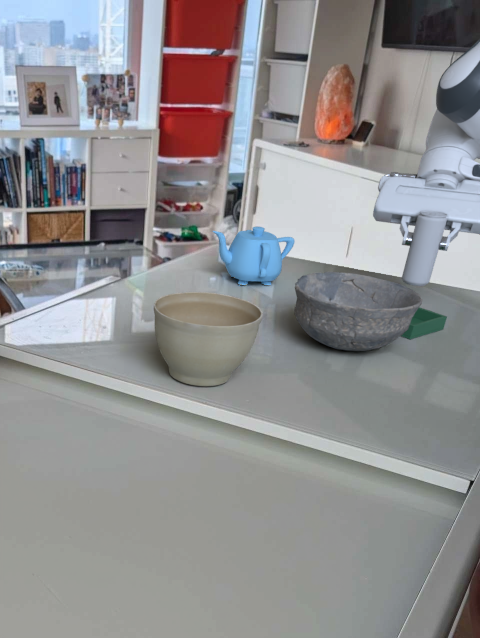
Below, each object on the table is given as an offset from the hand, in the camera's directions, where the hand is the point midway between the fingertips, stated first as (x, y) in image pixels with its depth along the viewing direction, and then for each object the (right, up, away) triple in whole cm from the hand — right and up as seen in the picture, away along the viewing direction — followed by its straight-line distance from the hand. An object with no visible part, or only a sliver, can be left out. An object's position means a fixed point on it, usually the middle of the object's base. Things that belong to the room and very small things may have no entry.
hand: (424, 246), depth 133 cm
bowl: (-14, -18, -1) cm, 23 cm away
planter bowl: (-42, -25, -14) cm, 51 cm away
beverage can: (0, -5, +4) cm, 7 cm away
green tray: (0, -12, +9) cm, 15 cm away
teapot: (-26, +3, +29) cm, 39 cm away
